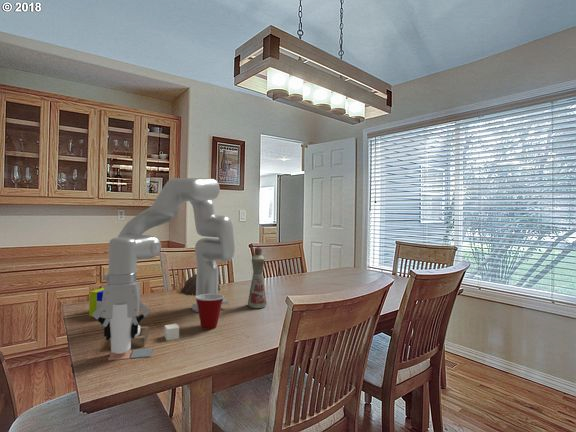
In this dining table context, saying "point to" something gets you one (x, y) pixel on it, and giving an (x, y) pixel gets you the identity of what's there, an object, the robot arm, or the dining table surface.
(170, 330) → the white cube
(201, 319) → the plastic cup
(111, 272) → the robot arm
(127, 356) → the pad
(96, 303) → the puzzle toy
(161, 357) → the dining table surface
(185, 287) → the decorative dome
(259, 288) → the bottle
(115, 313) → the drinking glass
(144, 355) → the pad mid
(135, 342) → the button frame
